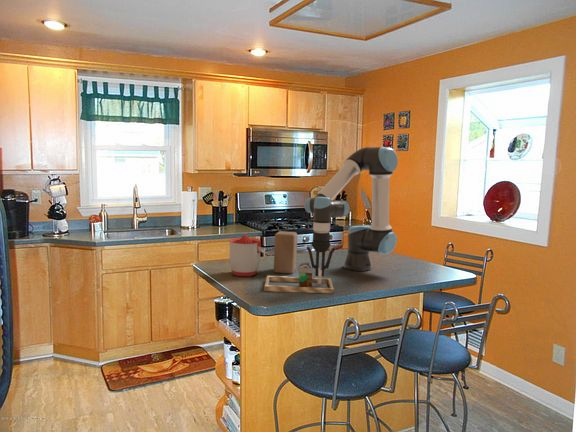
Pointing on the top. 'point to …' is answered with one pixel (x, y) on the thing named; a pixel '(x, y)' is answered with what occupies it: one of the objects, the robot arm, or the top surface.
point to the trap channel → (314, 289)
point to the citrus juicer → (245, 255)
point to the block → (285, 252)
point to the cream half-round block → (305, 275)
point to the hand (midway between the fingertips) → (319, 283)
